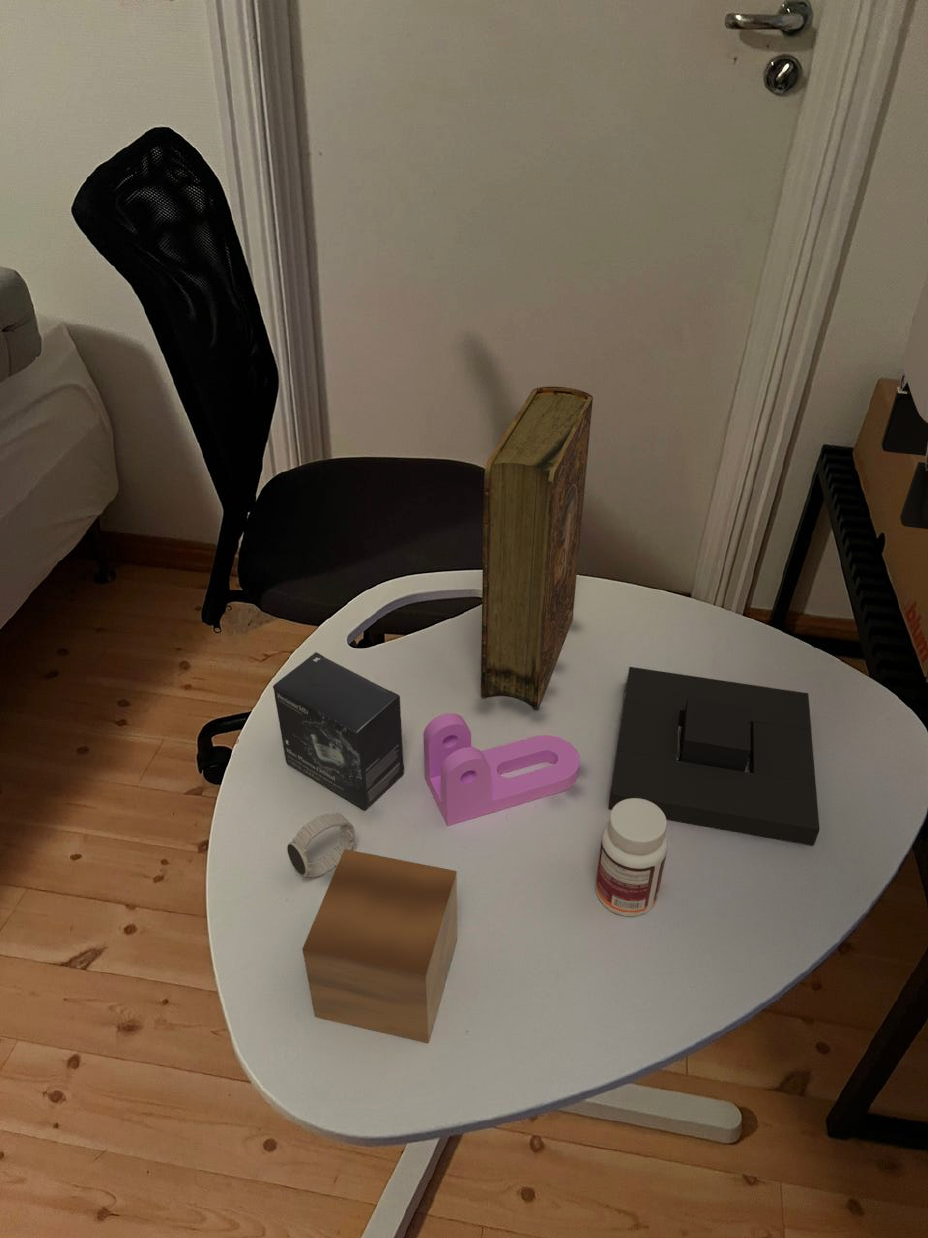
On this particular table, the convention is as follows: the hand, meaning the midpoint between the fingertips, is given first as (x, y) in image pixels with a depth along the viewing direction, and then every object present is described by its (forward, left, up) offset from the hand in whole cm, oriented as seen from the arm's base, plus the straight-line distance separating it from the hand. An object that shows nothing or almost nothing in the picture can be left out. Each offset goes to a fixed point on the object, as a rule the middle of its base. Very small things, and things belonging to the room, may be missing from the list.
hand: (915, 486), depth 59 cm
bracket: (-3, +25, -31) cm, 40 cm away
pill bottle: (-12, +14, -31) cm, 36 cm away
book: (+14, +26, -31) cm, 42 cm away
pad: (+4, +8, -30) cm, 32 cm away
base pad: (+4, +8, -30) cm, 32 cm away
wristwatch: (-15, +37, -31) cm, 50 cm away
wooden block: (-23, +30, -30) cm, 48 cm away
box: (-5, +39, -31) cm, 50 cm away
